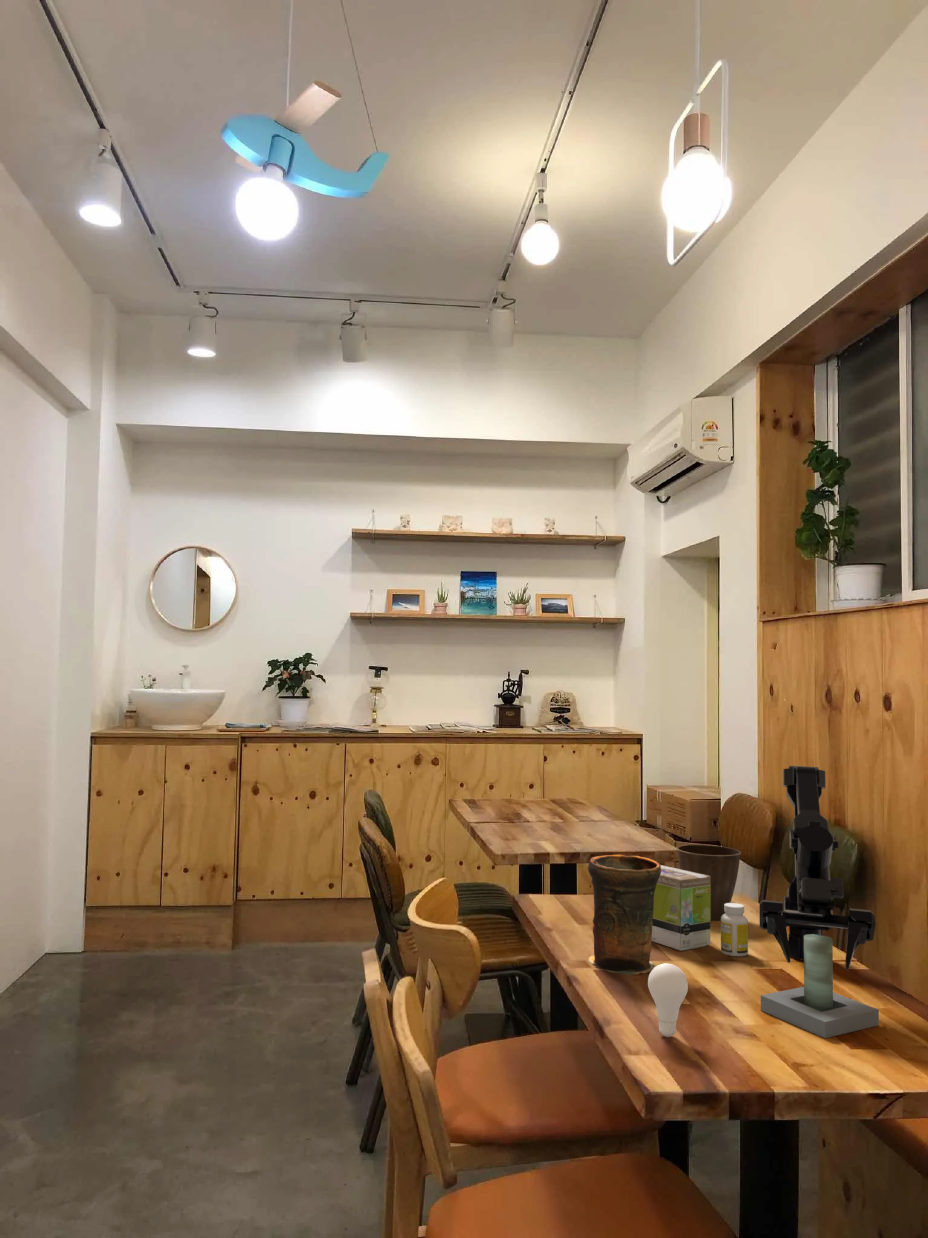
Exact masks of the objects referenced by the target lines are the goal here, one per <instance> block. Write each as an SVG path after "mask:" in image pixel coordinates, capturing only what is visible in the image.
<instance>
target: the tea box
mask: <svg viewBox="0 0 928 1238" xmlns="http://www.w3.org/2000/svg"><path fill="white" fill-rule="evenodd" d="M660 866H661V874H660V876H659V879H658V881H657V884H656V888H655V892H654V912H653V925H652V938H651V942H653V943H656V944H660V945H663V946H665V947H668V948H669V947H670V948H672V949H674V950H678V951H680V952H681V951H687V950H694V949H698V948H703V947H707V946H706V945H708V946H710V945H711V931H712V930H711V926H712V925H711V923H712V921H711V877H710V876H708V875H704V874H699V873H695V872H690V871H686V870H681V869H680V868H676V867H672V866H671V867H670V866H667V865H662V864H660Z"/></svg>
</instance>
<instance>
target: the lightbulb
mask: <svg viewBox="0 0 928 1238" xmlns="http://www.w3.org/2000/svg"><path fill="white" fill-rule="evenodd" d="M654 967H655V968H654V969H653V970H652V971H651V972H649V975H648V978H647V986H648V990H649V992H650V995H651V997H652V999H653V1001H654V1004H655V1008H656V1017H657V1019H658V1030H659V1031H658V1032H659V1033H661V1034H662V1035H663V1036H664V1037H666V1038H670V1037H672V1036H674V1035H675V1034H676V1030H677V1021H678V1019H679V1013H680V1008H681V1005H682V1003H683V1002H684V1000H685V998H686V996H687V993H688V991H689V983H688V979H687V976H686V974H685V973H684V972H683V970H682V969H681V968H680V967H679V966H677V965H675V964H672V963H661V964H658V965H656V966H654Z"/></svg>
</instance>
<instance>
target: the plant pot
mask: <svg viewBox="0 0 928 1238" xmlns="http://www.w3.org/2000/svg"><path fill="white" fill-rule="evenodd" d="M676 852H677V854H676V855H677V861H678V867H679V868H678V869H681V870H686V871H690V872H695V873H699V874H704V875H708V876H710V877H711V922H718V921H720V922H721V916H722V915H723V914H725V911H724V904H726V903H732V899H733V895H734V892H735V888H736V884H737V880H738V873H739V868H740V860H741V854H742V853H741V851H740V850H738V849H736V848H732V847H727V846H720V845H710V844H683V845H679V846H677V847H676Z"/></svg>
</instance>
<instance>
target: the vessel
mask: <svg viewBox="0 0 928 1238" xmlns="http://www.w3.org/2000/svg"><path fill="white" fill-rule="evenodd" d="M660 865H661V864H660V863H659V862H658V861H655V860H654V859H651V858H648V857H642V856H639V855H624V854H611V855H609V854H608V855H607V854H606V855H599V856H593V857H591V858H590V860H589V861H588V865H587V870H588V873H589V876H590V878H591V884H592V887H593V911H594V912H593V919H592V924H593V926H592V935H593V955H590V957H588V962H589V963H590V964H591V965H594V966H595V968H596V969H599V970H601V971H606V972H608V973H610V974H617V973H618V974H623V975H626V976H627V975H628V976H635V975H639V974H647V973H651V971H652V970H653V969H654V968H655V967H656V966H654V963H653V962H652V961H651V960H650V959H651V951H652V950H651V949H652V941H651V938H652V925H653V912H654V892H655V888H656V884H657V881H658V879H659V876H660V874H661V866H660Z"/></svg>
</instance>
